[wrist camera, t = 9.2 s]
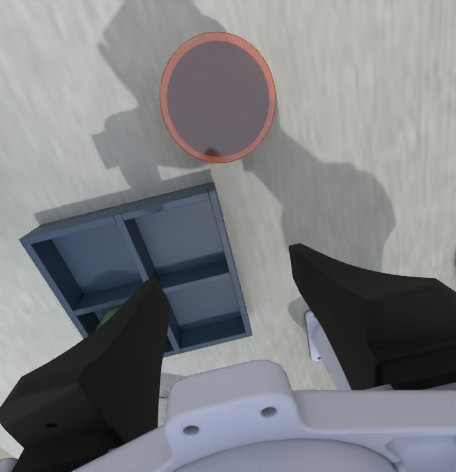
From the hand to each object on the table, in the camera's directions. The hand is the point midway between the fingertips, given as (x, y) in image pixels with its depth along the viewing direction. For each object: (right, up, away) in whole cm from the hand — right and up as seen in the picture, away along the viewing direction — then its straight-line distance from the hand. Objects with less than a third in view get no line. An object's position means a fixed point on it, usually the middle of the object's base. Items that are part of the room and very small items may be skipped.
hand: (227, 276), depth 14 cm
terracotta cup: (-1, +12, +6) cm, 13 cm away
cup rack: (-7, -2, +11) cm, 13 cm away
